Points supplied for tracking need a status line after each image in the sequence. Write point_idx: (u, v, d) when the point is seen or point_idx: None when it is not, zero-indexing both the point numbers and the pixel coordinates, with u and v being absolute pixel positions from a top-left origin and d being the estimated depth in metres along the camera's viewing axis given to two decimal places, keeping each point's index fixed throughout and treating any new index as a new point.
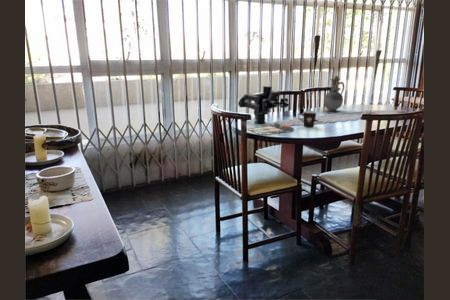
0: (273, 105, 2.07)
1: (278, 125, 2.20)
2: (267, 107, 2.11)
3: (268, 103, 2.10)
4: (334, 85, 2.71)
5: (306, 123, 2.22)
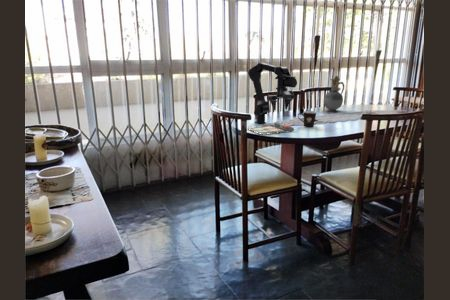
0: (273, 106, 2.15)
1: (278, 125, 2.20)
2: (270, 100, 2.15)
3: (273, 101, 2.13)
4: (334, 85, 2.71)
5: (306, 123, 2.22)
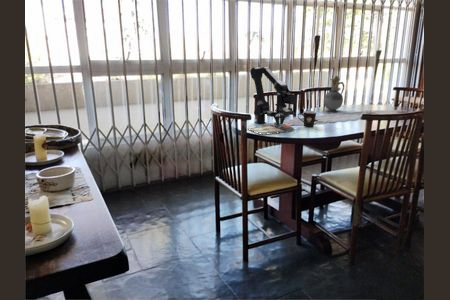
0: (277, 122, 2.20)
1: None
2: None
3: (276, 116, 2.17)
4: (334, 85, 2.71)
5: (306, 123, 2.22)
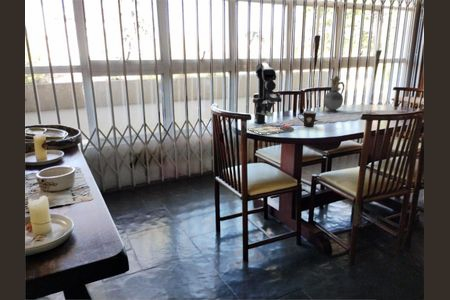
0: (264, 109, 2.07)
1: None
2: (260, 103, 2.07)
3: (263, 104, 2.05)
4: (334, 85, 2.71)
5: (306, 123, 2.22)
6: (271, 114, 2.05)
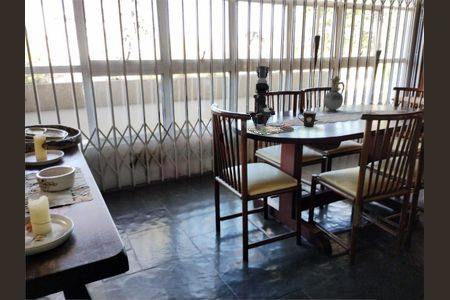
0: (254, 123, 2.06)
1: (259, 128, 2.08)
2: None
3: (253, 117, 2.03)
4: (334, 85, 2.71)
5: (306, 123, 2.22)
6: (264, 129, 2.05)
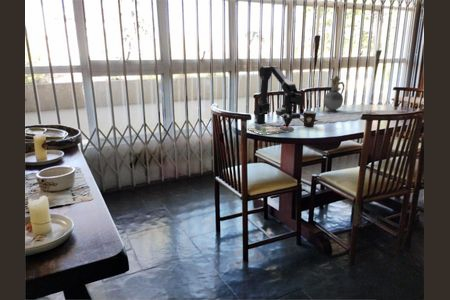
0: None
1: (259, 128, 2.08)
2: None
3: None
4: (334, 85, 2.71)
5: (306, 123, 2.22)
6: (264, 129, 2.05)
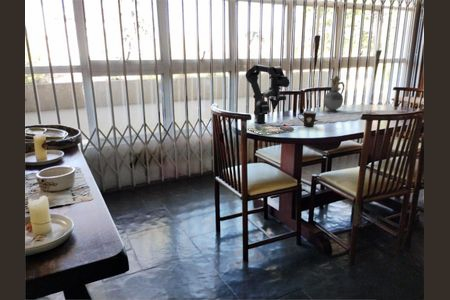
0: None
1: (259, 128, 2.08)
2: None
3: None
4: (334, 85, 2.71)
5: (306, 123, 2.22)
6: (264, 129, 2.05)
